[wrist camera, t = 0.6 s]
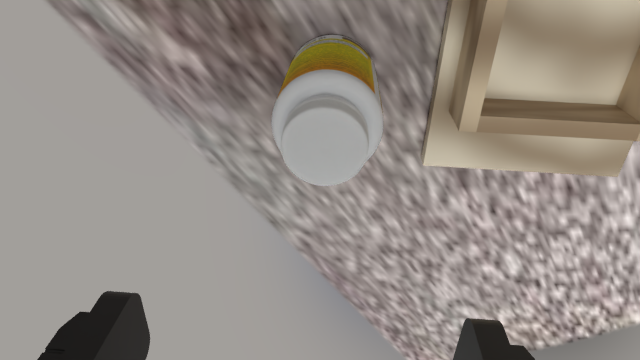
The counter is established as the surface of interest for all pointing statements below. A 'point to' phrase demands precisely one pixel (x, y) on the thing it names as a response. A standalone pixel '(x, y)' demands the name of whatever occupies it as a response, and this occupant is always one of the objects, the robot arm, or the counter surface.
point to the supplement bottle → (328, 111)
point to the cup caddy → (536, 86)
